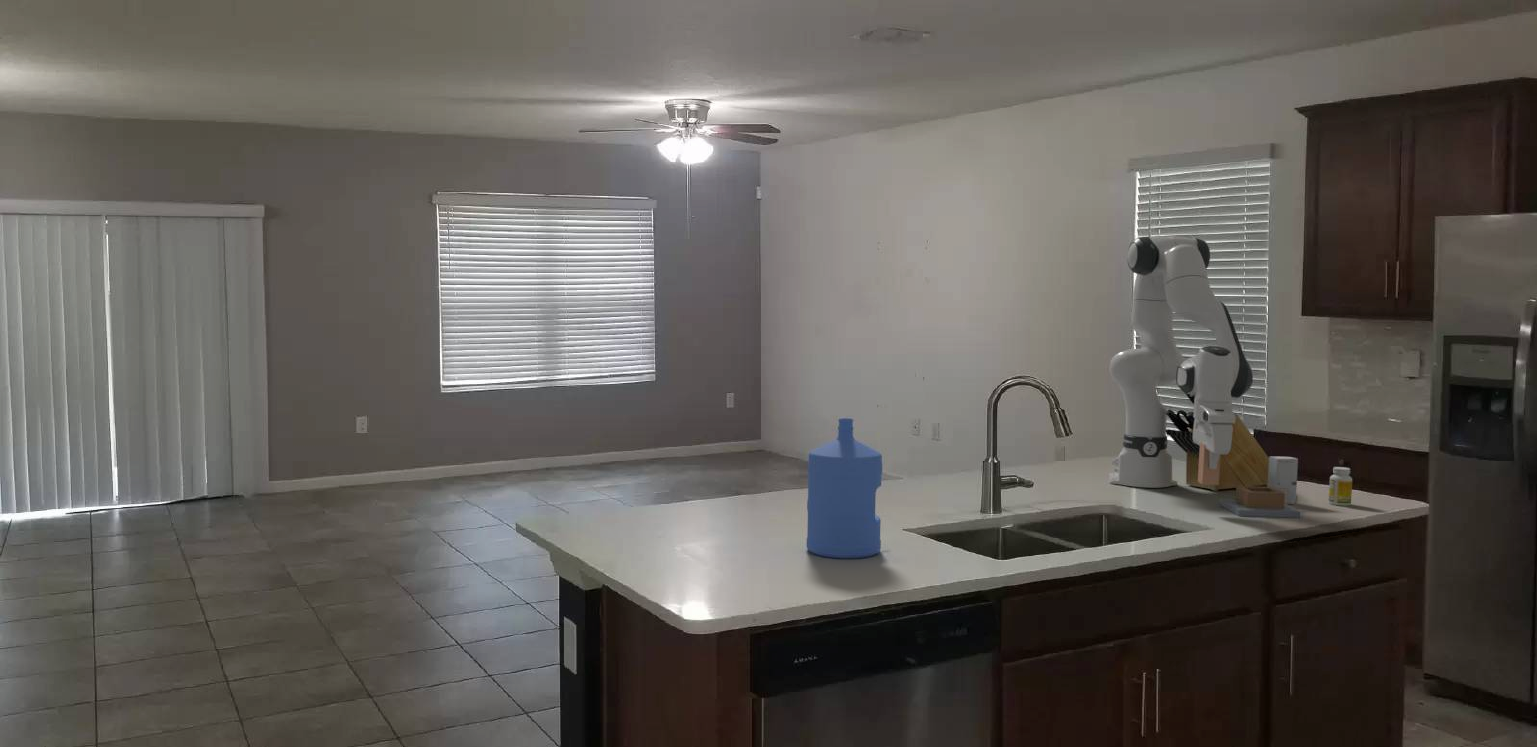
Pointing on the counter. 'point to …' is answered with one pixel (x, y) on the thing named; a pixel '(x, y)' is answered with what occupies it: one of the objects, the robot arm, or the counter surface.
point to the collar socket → (1259, 503)
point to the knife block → (1236, 467)
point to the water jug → (843, 497)
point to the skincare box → (1283, 476)
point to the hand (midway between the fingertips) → (1209, 466)
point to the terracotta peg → (1207, 468)
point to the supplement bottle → (1340, 487)
